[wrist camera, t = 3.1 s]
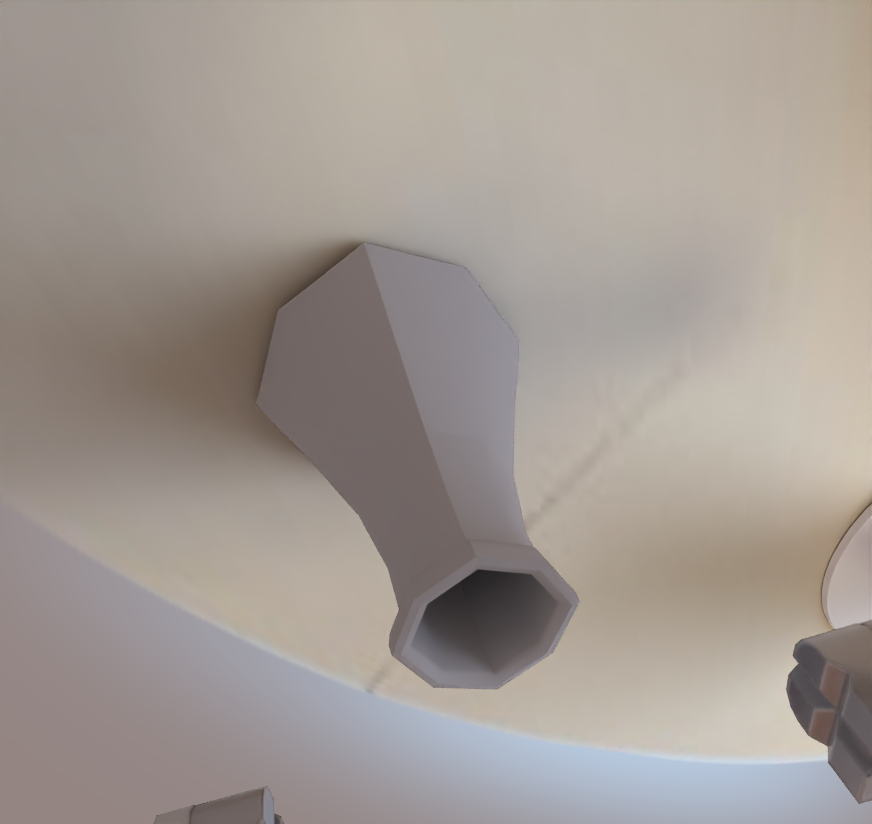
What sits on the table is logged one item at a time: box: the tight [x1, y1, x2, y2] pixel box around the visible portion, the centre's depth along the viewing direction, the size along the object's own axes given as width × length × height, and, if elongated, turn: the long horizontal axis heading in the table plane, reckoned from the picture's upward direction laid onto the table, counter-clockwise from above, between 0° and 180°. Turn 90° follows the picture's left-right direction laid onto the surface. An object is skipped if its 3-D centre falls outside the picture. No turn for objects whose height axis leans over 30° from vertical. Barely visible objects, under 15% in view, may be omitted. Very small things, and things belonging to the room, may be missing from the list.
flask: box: [256, 243, 580, 689], centre depth 17 cm, size 7×7×10 cm
